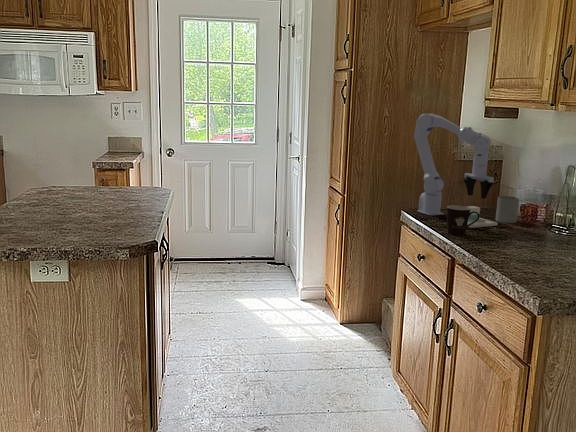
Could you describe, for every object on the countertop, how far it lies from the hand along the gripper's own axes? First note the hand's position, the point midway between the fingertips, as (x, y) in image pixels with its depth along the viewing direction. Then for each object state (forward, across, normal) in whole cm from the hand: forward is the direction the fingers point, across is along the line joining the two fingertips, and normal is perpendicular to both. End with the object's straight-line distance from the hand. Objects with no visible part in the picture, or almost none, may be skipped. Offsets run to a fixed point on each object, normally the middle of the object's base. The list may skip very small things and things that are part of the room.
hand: (476, 196), depth 239 cm
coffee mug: (+10, +18, -26) cm, 33 cm away
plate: (+10, +5, -6) cm, 13 cm away
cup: (+10, +6, +12) cm, 17 cm away
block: (+9, +5, -6) cm, 12 cm away
